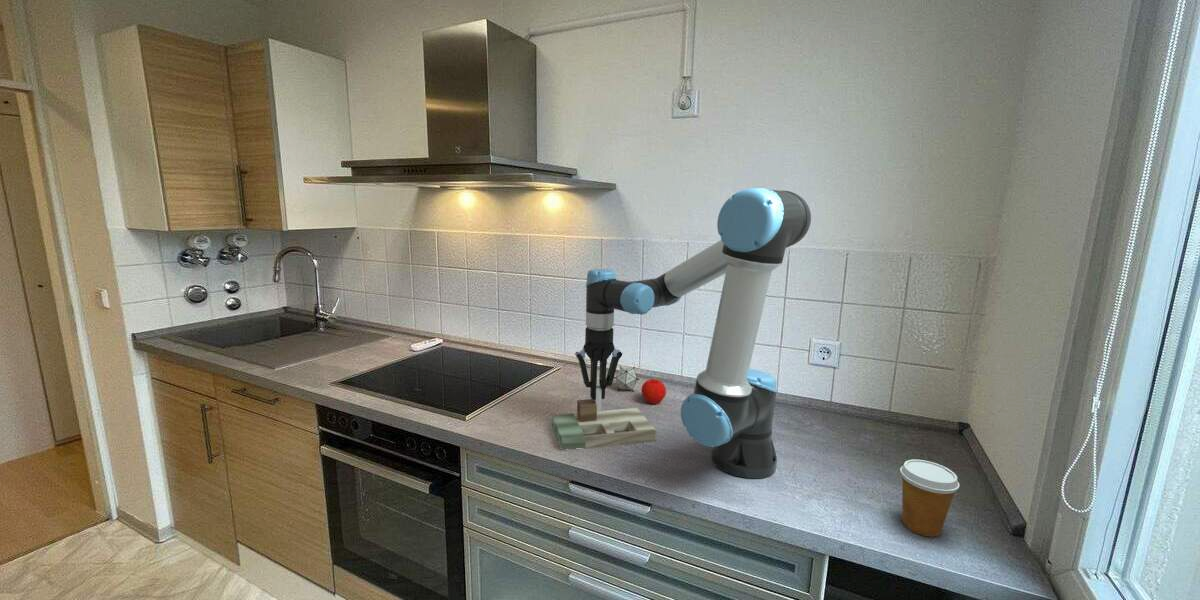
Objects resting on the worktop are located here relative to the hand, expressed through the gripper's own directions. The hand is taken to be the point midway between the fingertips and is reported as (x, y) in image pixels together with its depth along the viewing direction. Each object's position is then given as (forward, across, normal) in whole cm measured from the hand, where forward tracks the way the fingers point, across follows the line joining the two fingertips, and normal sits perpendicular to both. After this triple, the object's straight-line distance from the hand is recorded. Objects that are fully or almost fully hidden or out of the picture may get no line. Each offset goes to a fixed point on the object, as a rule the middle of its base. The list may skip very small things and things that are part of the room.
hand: (597, 409), depth 135 cm
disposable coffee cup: (+5, -52, +56) cm, 76 cm away
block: (+2, +3, 0) cm, 4 cm away
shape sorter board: (+5, -1, +4) cm, 6 cm away
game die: (+6, -17, -26) cm, 31 cm away
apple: (+5, -22, -14) cm, 26 cm away
